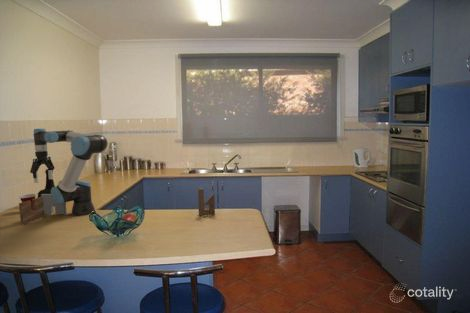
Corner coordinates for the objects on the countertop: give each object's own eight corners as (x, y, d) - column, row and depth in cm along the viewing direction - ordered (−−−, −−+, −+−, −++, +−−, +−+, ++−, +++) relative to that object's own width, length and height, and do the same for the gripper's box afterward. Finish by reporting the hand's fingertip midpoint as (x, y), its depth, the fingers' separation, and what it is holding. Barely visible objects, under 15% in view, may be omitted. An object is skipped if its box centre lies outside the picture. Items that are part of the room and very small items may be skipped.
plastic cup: (19, 211, 261) (18, 195, 260) (36, 208, 268) (34, 193, 266) (21, 214, 253) (20, 197, 251) (38, 211, 259) (37, 195, 258)
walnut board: (44, 217, 243) (43, 197, 242) (23, 224, 226) (21, 203, 224) (42, 217, 243) (40, 196, 242) (21, 224, 226) (19, 203, 225)
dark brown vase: (39, 203, 286) (36, 168, 283) (63, 200, 293) (61, 166, 290) (37, 208, 270) (34, 171, 267) (63, 205, 277) (60, 169, 274)
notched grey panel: (66, 214, 249) (64, 194, 248) (64, 214, 248) (62, 195, 246) (44, 213, 254) (43, 193, 252) (42, 213, 252) (40, 194, 250)
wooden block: (215, 214, 238) (214, 188, 236) (198, 215, 237) (197, 189, 235) (214, 213, 242) (213, 187, 240) (198, 214, 240) (197, 188, 238)
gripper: (49, 149, 260) (52, 177, 262) (22, 152, 236) (25, 184, 238) (58, 149, 258) (60, 177, 261) (31, 152, 234) (34, 184, 237)
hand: (43, 180), depth 250 cm, fingers open, 13 cm apart
